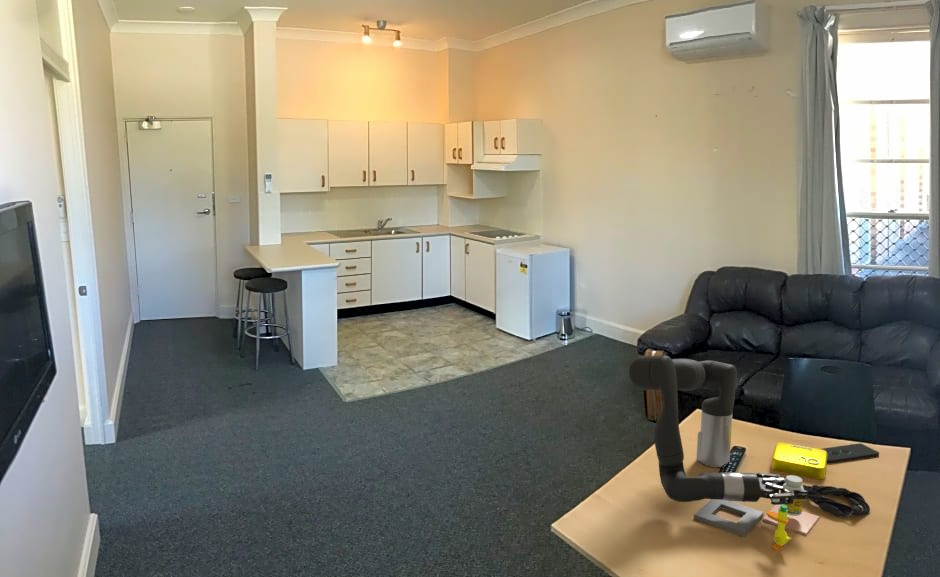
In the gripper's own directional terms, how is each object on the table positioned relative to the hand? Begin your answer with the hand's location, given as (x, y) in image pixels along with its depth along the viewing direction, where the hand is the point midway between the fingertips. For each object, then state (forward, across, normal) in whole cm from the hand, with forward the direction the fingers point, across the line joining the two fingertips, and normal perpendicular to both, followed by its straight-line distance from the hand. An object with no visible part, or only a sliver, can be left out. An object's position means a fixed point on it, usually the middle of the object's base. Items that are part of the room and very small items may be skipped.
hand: (802, 489), depth 179 cm
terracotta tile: (-2, 0, +9) cm, 9 cm away
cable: (+13, +10, +9) cm, 19 cm away
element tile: (+12, +33, +9) cm, 37 cm away
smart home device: (+30, +42, +9) cm, 52 cm away
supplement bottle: (-3, 0, +7) cm, 7 cm away
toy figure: (-11, -14, +9) cm, 20 cm away
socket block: (-19, 0, +9) cm, 21 cm away
